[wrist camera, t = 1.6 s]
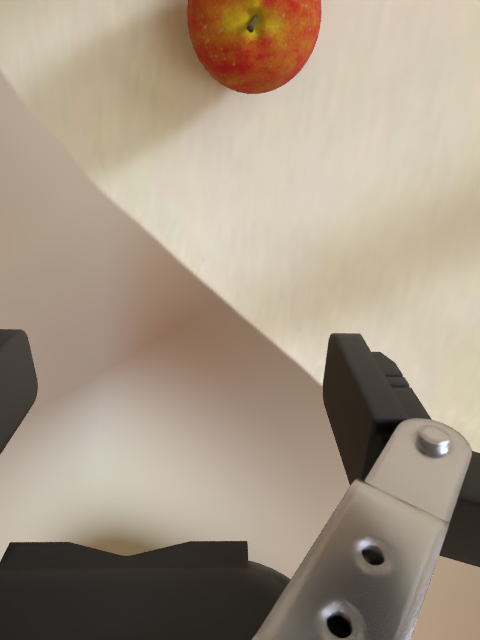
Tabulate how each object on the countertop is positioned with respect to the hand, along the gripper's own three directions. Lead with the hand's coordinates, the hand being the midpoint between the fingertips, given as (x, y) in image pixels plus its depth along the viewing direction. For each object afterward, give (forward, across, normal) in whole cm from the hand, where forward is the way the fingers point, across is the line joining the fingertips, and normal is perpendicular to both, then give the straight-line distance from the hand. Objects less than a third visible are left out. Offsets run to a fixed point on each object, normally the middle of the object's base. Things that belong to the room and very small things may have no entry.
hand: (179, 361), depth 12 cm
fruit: (+21, -3, -11) cm, 24 cm away
